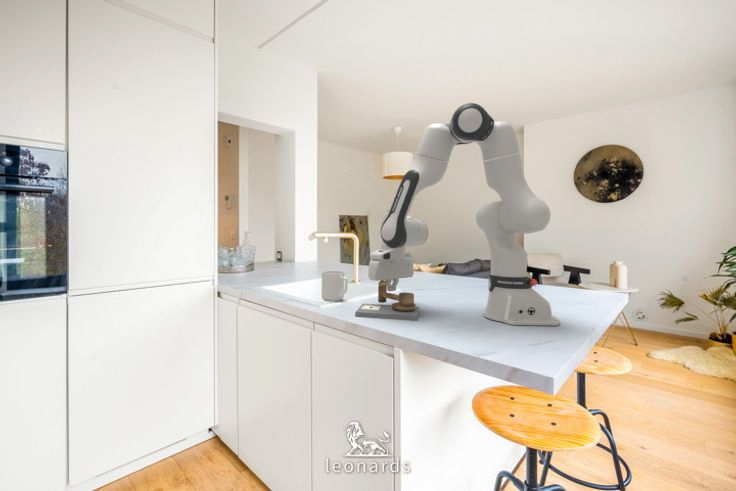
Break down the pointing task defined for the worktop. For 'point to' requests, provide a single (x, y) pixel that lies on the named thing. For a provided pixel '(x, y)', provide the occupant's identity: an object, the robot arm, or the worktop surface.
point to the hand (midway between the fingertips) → (391, 290)
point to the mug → (333, 285)
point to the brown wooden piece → (396, 298)
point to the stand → (385, 312)
